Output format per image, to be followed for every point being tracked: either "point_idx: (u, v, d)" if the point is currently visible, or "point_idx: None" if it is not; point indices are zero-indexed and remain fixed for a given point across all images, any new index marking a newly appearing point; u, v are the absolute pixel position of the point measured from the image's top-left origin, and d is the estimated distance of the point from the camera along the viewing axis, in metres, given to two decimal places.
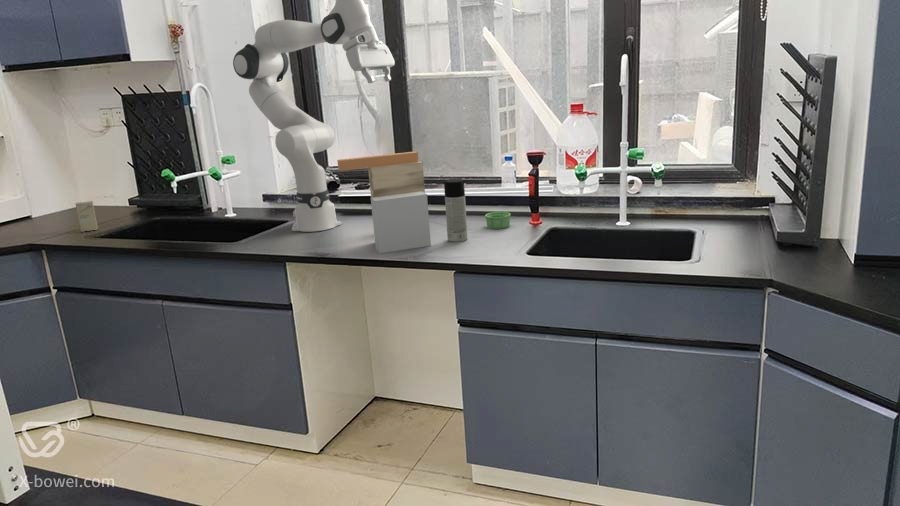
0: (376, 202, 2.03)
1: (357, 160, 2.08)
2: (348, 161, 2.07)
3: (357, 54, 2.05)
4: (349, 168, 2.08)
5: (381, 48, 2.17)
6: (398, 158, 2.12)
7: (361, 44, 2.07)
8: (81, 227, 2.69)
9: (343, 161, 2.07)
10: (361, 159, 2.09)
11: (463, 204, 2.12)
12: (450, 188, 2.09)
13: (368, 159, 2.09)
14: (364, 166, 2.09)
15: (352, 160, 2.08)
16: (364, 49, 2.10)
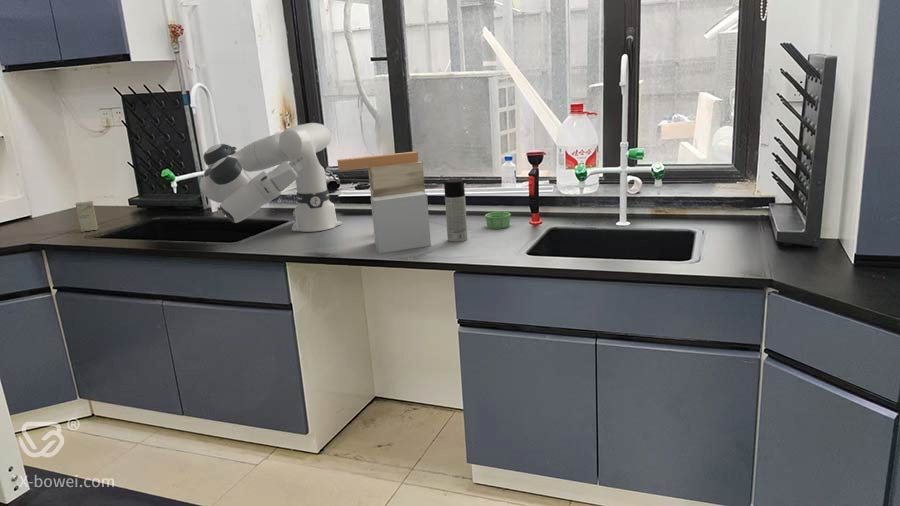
0: (376, 202, 2.03)
1: (357, 160, 2.08)
2: (348, 161, 2.07)
3: (280, 174, 1.96)
4: (349, 168, 2.08)
5: (271, 172, 2.09)
6: (398, 158, 2.12)
7: (269, 177, 1.98)
8: (81, 227, 2.69)
9: (343, 161, 2.07)
10: (361, 159, 2.09)
11: (463, 204, 2.12)
12: (450, 188, 2.09)
13: (368, 159, 2.09)
14: (364, 166, 2.09)
15: (352, 160, 2.08)
16: (274, 175, 2.00)
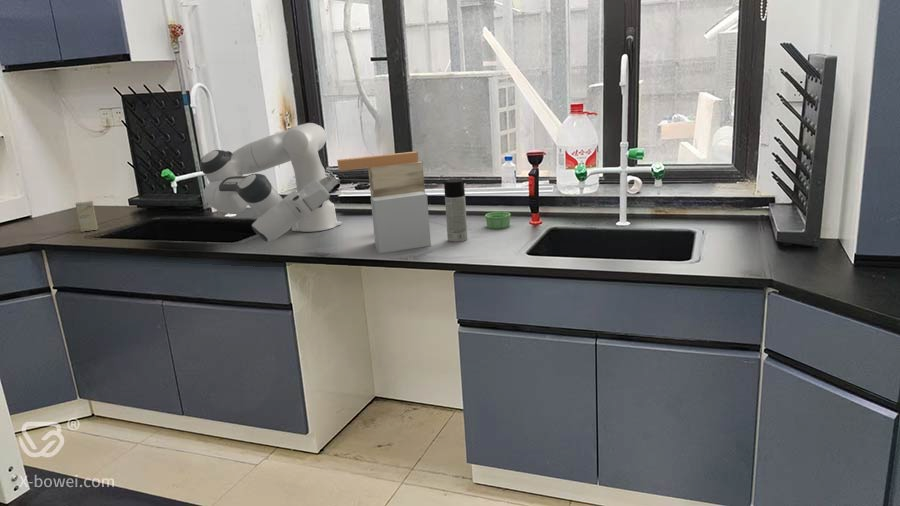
0: (376, 202, 2.03)
1: (357, 160, 2.08)
2: (348, 161, 2.07)
3: (312, 193, 1.97)
4: (349, 168, 2.08)
5: None
6: (398, 158, 2.12)
7: (301, 196, 2.00)
8: (81, 227, 2.69)
9: (343, 161, 2.07)
10: (361, 159, 2.09)
11: (463, 204, 2.12)
12: (450, 188, 2.09)
13: (368, 159, 2.09)
14: (364, 166, 2.09)
15: (352, 160, 2.08)
16: (306, 195, 2.02)
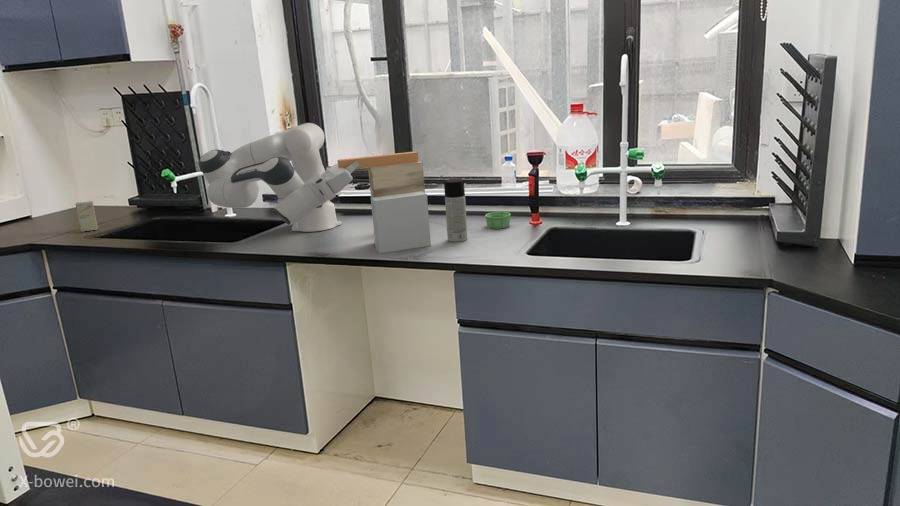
0: (376, 202, 2.03)
1: (357, 160, 2.08)
2: (348, 161, 2.07)
3: (335, 176, 1.99)
4: None
5: None
6: (398, 158, 2.12)
7: (324, 179, 2.02)
8: (81, 227, 2.69)
9: (343, 161, 2.07)
10: (361, 159, 2.09)
11: (463, 204, 2.12)
12: (450, 188, 2.09)
13: (368, 159, 2.09)
14: (364, 166, 2.09)
15: (352, 160, 2.08)
16: (329, 178, 2.04)
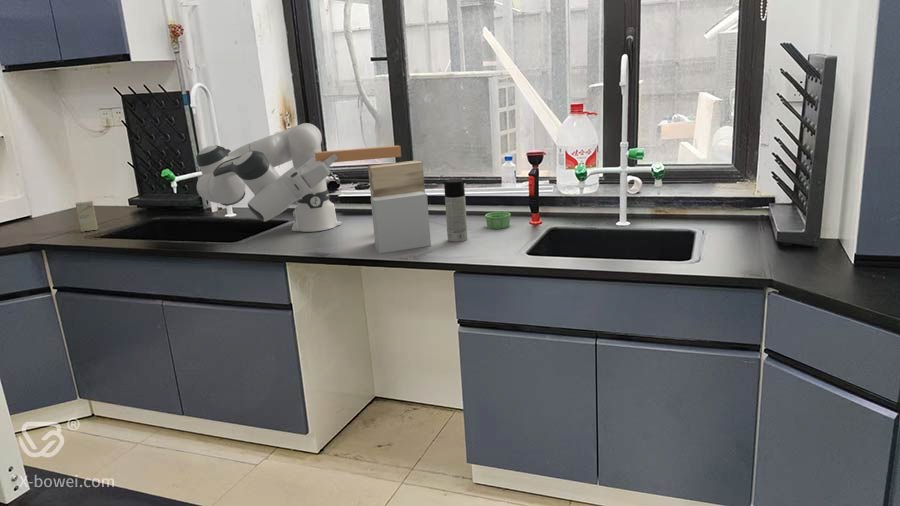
0: (376, 202, 2.03)
1: (335, 153, 1.96)
2: (325, 154, 1.95)
3: (311, 169, 1.87)
4: None
5: None
6: (379, 152, 2.01)
7: (300, 173, 1.90)
8: (81, 227, 2.69)
9: (320, 154, 1.95)
10: (340, 152, 1.97)
11: (463, 204, 2.12)
12: (450, 188, 2.09)
13: (347, 152, 1.97)
14: (343, 159, 1.97)
15: (330, 153, 1.96)
16: (305, 171, 1.92)
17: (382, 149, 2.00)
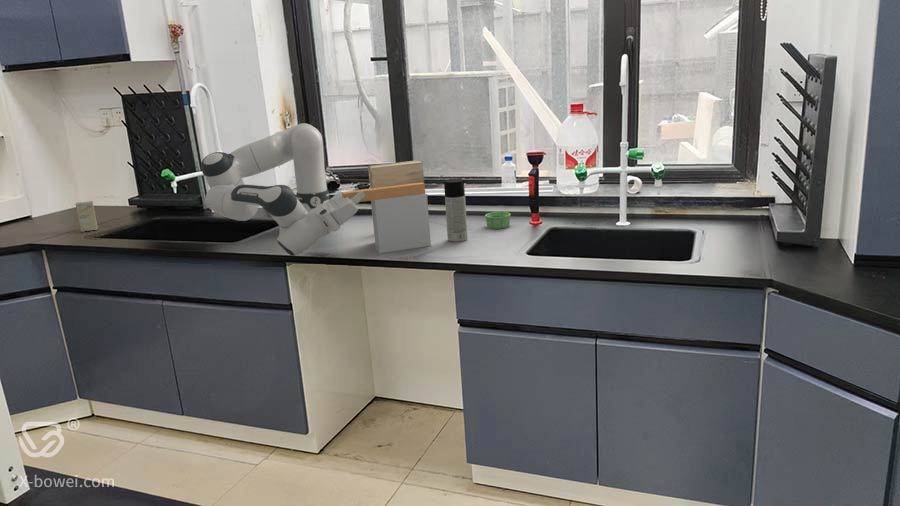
0: (376, 202, 2.03)
1: None
2: (353, 194, 2.01)
3: (340, 207, 1.93)
4: None
5: (328, 204, 2.06)
6: (404, 190, 2.06)
7: (329, 210, 1.95)
8: (81, 227, 2.69)
9: (348, 194, 2.01)
10: (366, 191, 2.02)
11: (463, 204, 2.12)
12: (450, 188, 2.09)
13: (374, 191, 2.03)
14: (369, 198, 2.03)
15: None
16: (333, 208, 1.97)
17: (407, 187, 2.06)
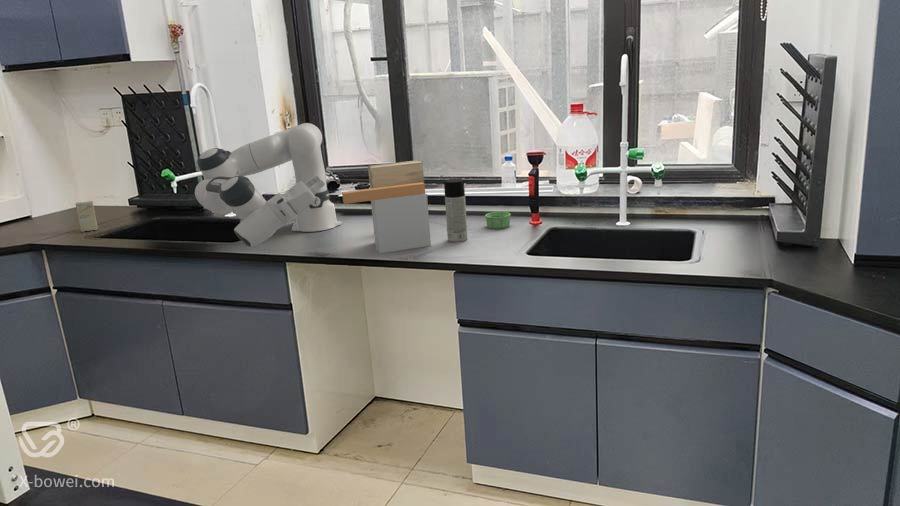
0: (376, 202, 2.03)
1: (362, 192, 2.02)
2: (353, 194, 2.01)
3: (297, 196, 1.88)
4: (354, 201, 2.02)
5: (287, 193, 2.01)
6: (404, 190, 2.06)
7: (286, 199, 1.90)
8: (81, 227, 2.69)
9: (348, 194, 2.01)
10: (366, 191, 2.02)
11: (463, 204, 2.12)
12: (450, 188, 2.09)
13: (374, 191, 2.03)
14: (369, 198, 2.03)
15: (357, 193, 2.01)
16: (291, 197, 1.93)
17: (407, 187, 2.06)
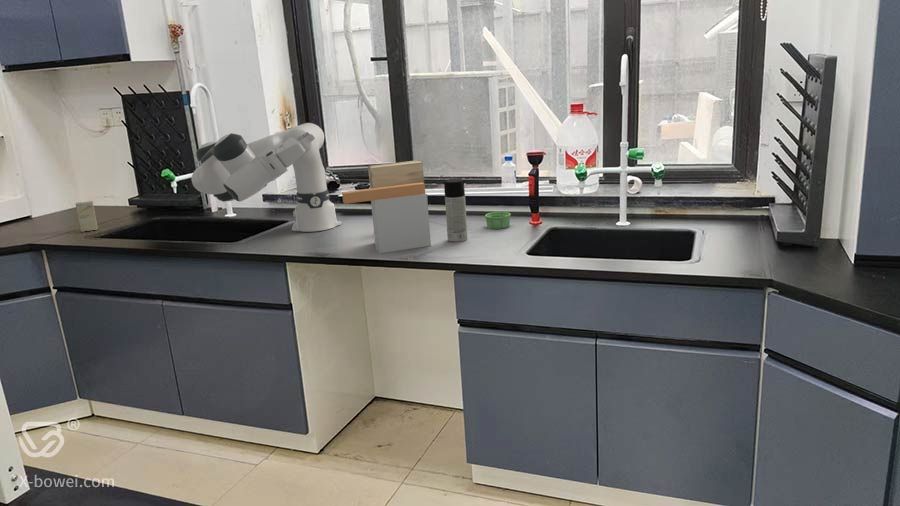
0: (376, 202, 2.03)
1: (362, 192, 2.02)
2: (353, 194, 2.01)
3: (286, 148, 1.87)
4: (354, 201, 2.02)
5: None
6: (404, 190, 2.06)
7: (275, 152, 1.89)
8: (81, 227, 2.69)
9: (348, 194, 2.01)
10: (366, 191, 2.02)
11: (463, 204, 2.12)
12: (450, 188, 2.09)
13: (374, 191, 2.03)
14: (369, 198, 2.03)
15: (357, 193, 2.01)
16: None
17: (407, 187, 2.06)
